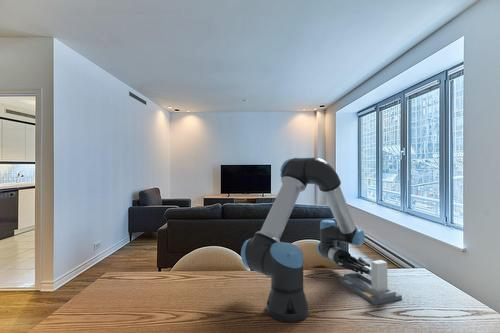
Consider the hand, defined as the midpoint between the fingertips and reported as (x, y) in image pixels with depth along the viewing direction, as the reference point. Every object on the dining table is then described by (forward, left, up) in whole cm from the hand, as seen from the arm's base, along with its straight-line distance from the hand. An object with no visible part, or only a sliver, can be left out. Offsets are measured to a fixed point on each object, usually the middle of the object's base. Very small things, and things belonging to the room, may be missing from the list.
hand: (376, 274), depth 110 cm
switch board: (-4, +2, -8) cm, 9 cm away
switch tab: (+1, -1, -6) cm, 6 cm away
